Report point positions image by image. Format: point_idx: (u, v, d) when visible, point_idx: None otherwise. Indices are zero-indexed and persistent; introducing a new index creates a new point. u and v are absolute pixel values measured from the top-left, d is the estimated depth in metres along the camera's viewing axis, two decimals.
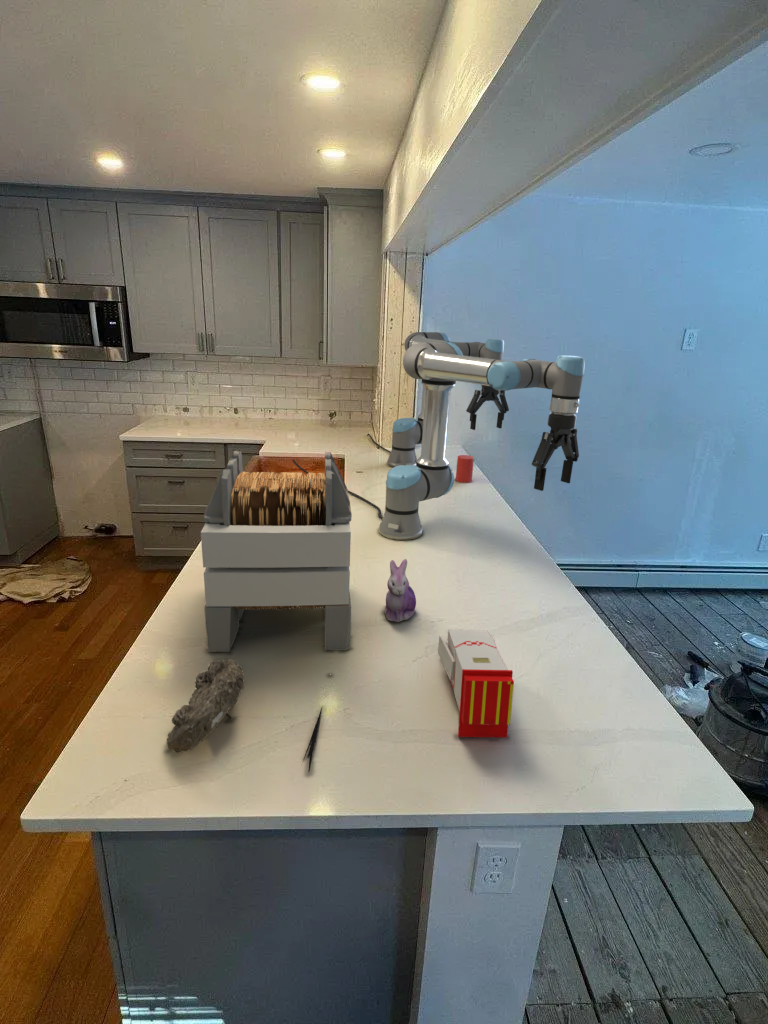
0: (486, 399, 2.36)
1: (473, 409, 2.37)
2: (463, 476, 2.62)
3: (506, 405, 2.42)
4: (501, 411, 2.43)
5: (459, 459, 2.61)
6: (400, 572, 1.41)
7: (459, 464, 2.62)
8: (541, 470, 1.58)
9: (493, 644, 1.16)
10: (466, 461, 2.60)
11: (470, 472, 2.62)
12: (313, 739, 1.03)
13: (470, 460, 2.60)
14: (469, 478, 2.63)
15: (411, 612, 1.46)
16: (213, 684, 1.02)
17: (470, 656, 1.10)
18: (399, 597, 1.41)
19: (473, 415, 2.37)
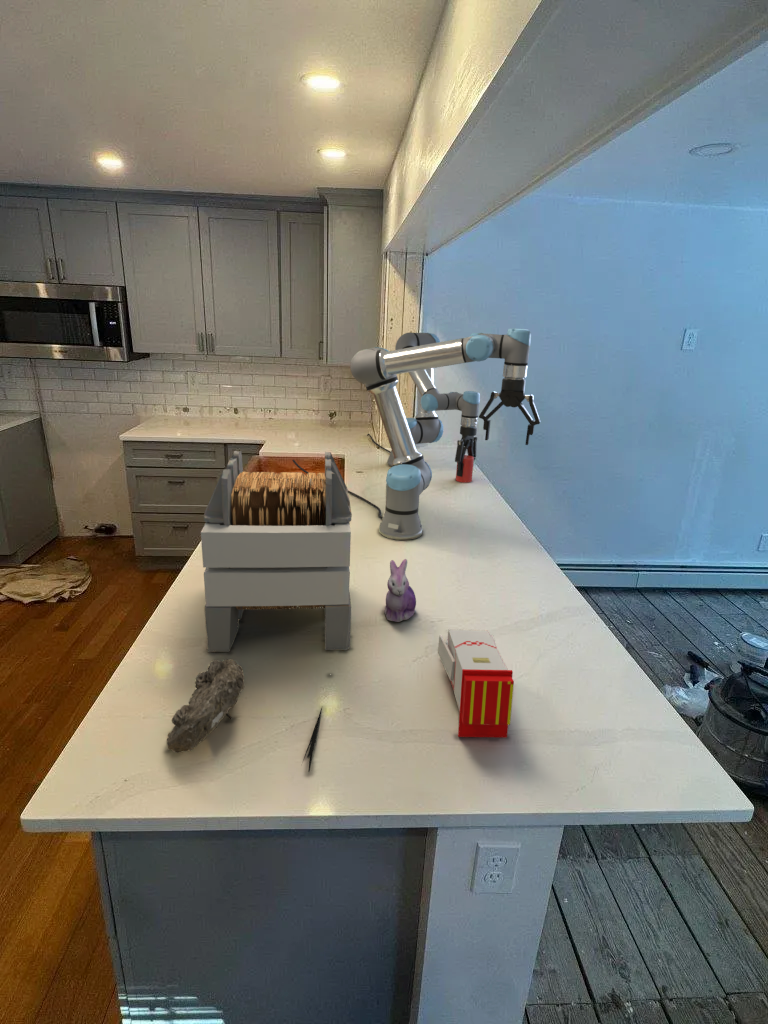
0: (468, 446, 2.59)
1: None
2: (463, 476, 2.62)
3: (475, 451, 2.66)
4: None
5: None
6: (400, 572, 1.41)
7: None
8: None
9: (493, 644, 1.16)
10: (466, 461, 2.60)
11: (470, 472, 2.62)
12: (313, 739, 1.03)
13: (470, 460, 2.60)
14: (469, 478, 2.63)
15: (411, 612, 1.46)
16: (213, 684, 1.02)
17: (470, 656, 1.10)
18: (399, 597, 1.41)
19: (461, 464, 2.60)
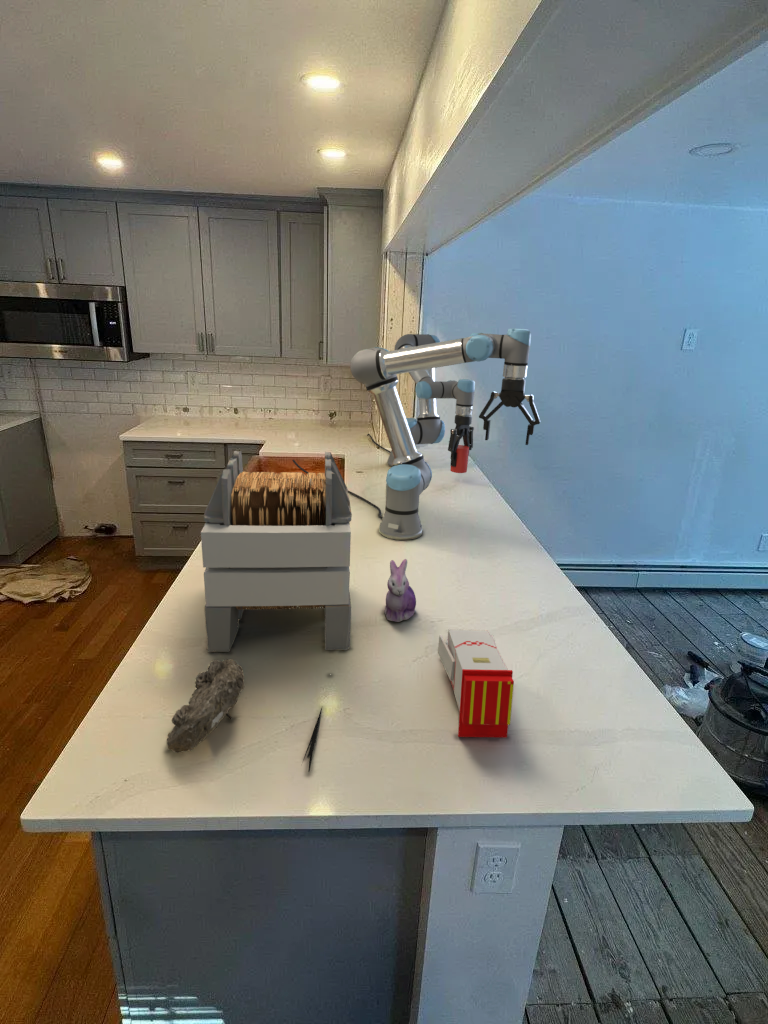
0: (462, 435, 2.53)
1: None
2: (457, 466, 2.57)
3: (472, 442, 2.60)
4: None
5: None
6: (400, 572, 1.41)
7: None
8: None
9: (493, 644, 1.16)
10: (459, 450, 2.54)
11: (464, 462, 2.56)
12: (313, 739, 1.03)
13: (464, 450, 2.54)
14: (463, 468, 2.57)
15: (411, 612, 1.46)
16: (213, 684, 1.02)
17: (470, 656, 1.10)
18: (399, 597, 1.41)
19: (454, 453, 2.54)
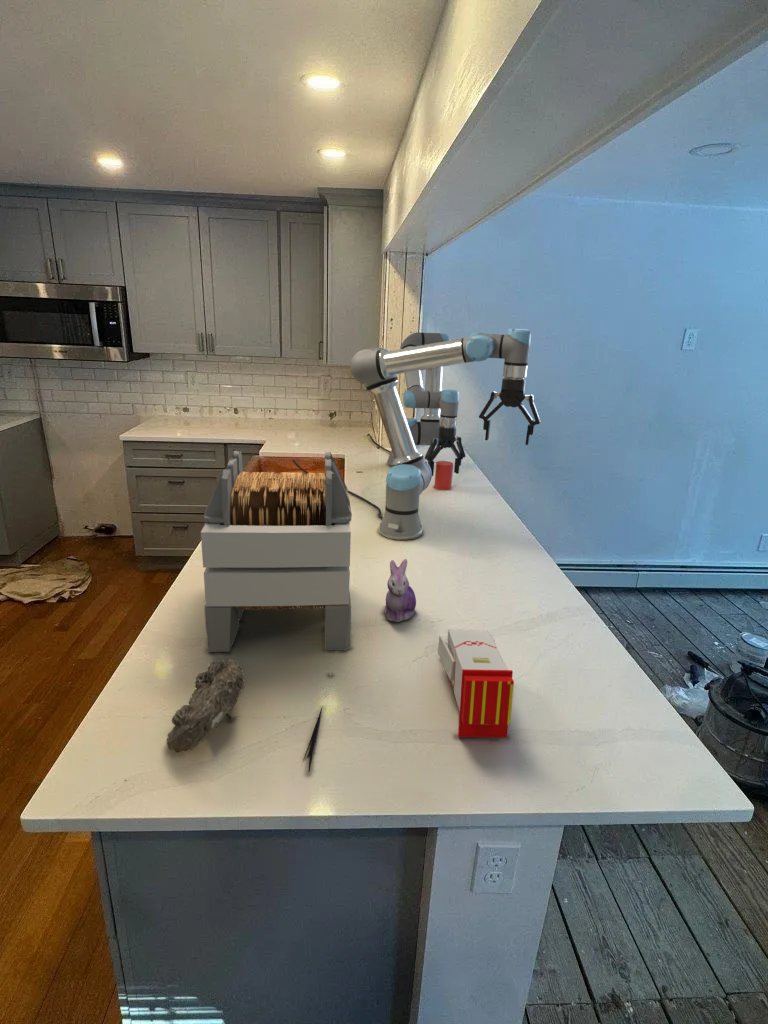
0: (443, 447, 2.46)
1: (431, 456, 2.46)
2: (438, 482, 2.51)
3: (463, 452, 2.52)
4: (458, 457, 2.53)
5: (436, 464, 2.51)
6: (400, 572, 1.41)
7: (436, 469, 2.51)
8: None
9: (493, 644, 1.16)
10: (441, 466, 2.48)
11: (445, 479, 2.49)
12: (313, 739, 1.03)
13: (445, 466, 2.48)
14: (445, 485, 2.51)
15: (411, 612, 1.46)
16: (213, 684, 1.02)
17: (470, 656, 1.10)
18: (399, 597, 1.41)
19: (431, 462, 2.47)
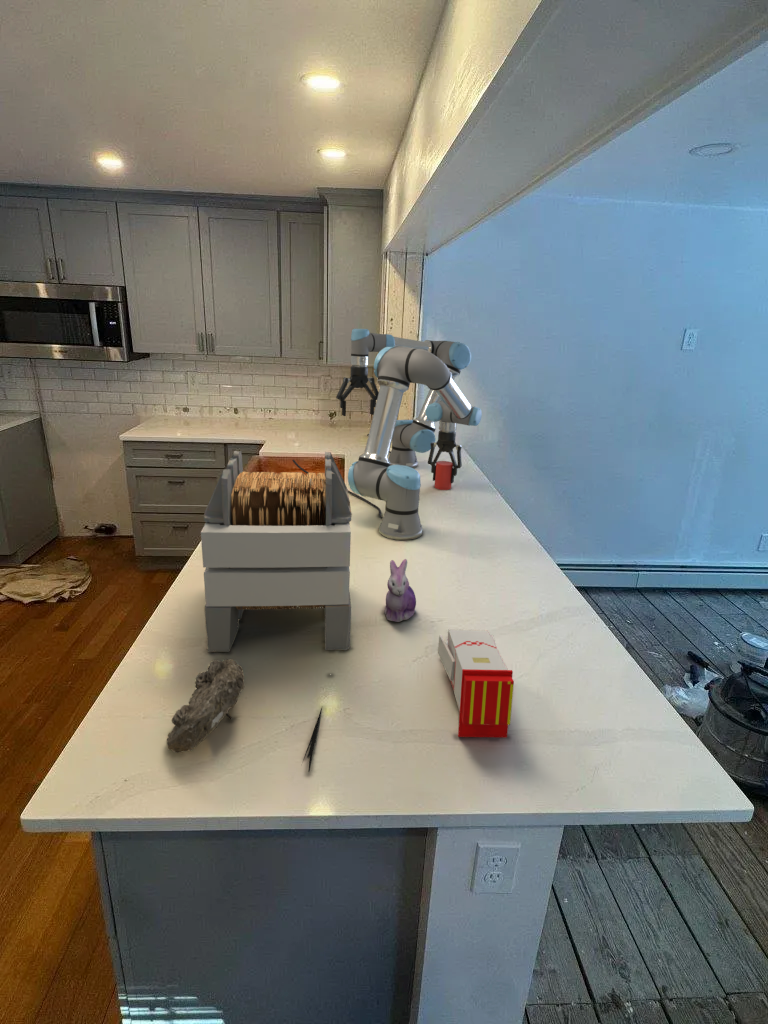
0: (354, 386, 2.46)
1: (342, 396, 2.47)
2: (438, 482, 2.51)
3: (377, 392, 2.52)
4: (373, 398, 2.53)
5: (436, 464, 2.51)
6: (400, 572, 1.41)
7: (436, 469, 2.51)
8: None
9: (493, 644, 1.16)
10: (441, 466, 2.48)
11: (445, 479, 2.49)
12: (313, 739, 1.03)
13: (445, 466, 2.48)
14: (445, 485, 2.51)
15: (411, 612, 1.46)
16: (213, 684, 1.02)
17: (470, 656, 1.10)
18: (399, 597, 1.41)
19: (342, 402, 2.47)
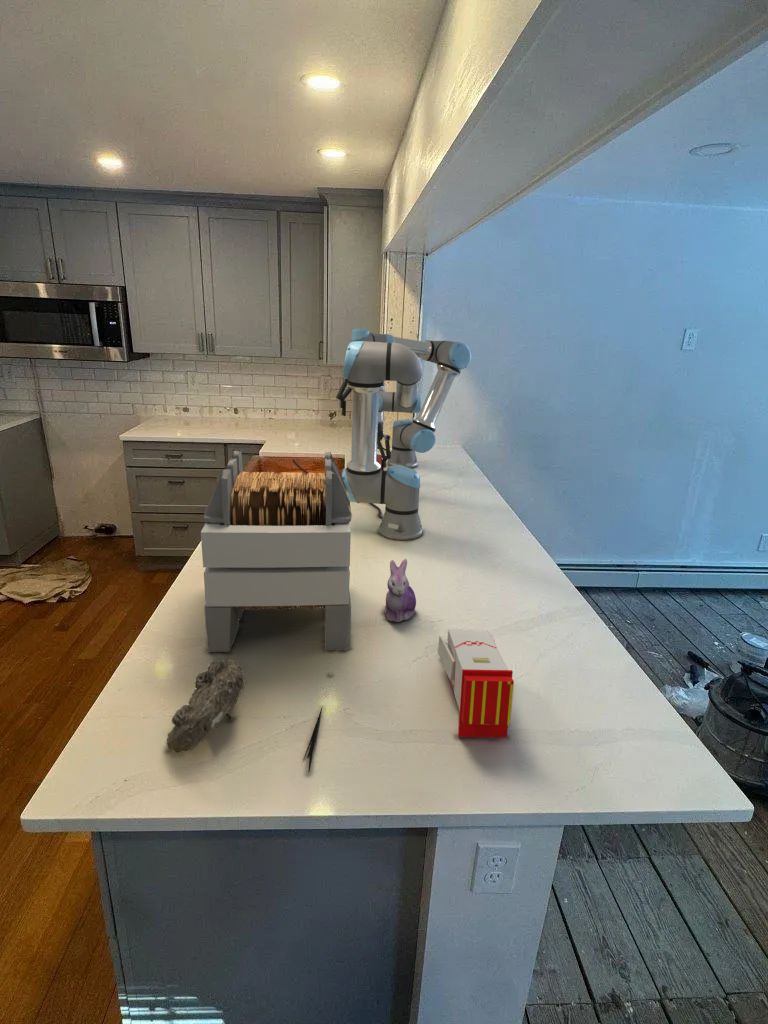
0: None
1: (342, 396, 2.47)
2: None
3: None
4: None
5: None
6: (400, 572, 1.41)
7: None
8: None
9: (493, 644, 1.16)
10: None
11: None
12: (313, 739, 1.03)
13: (378, 459, 2.33)
14: None
15: (411, 612, 1.46)
16: (213, 684, 1.02)
17: (470, 656, 1.10)
18: (399, 597, 1.41)
19: (342, 402, 2.47)
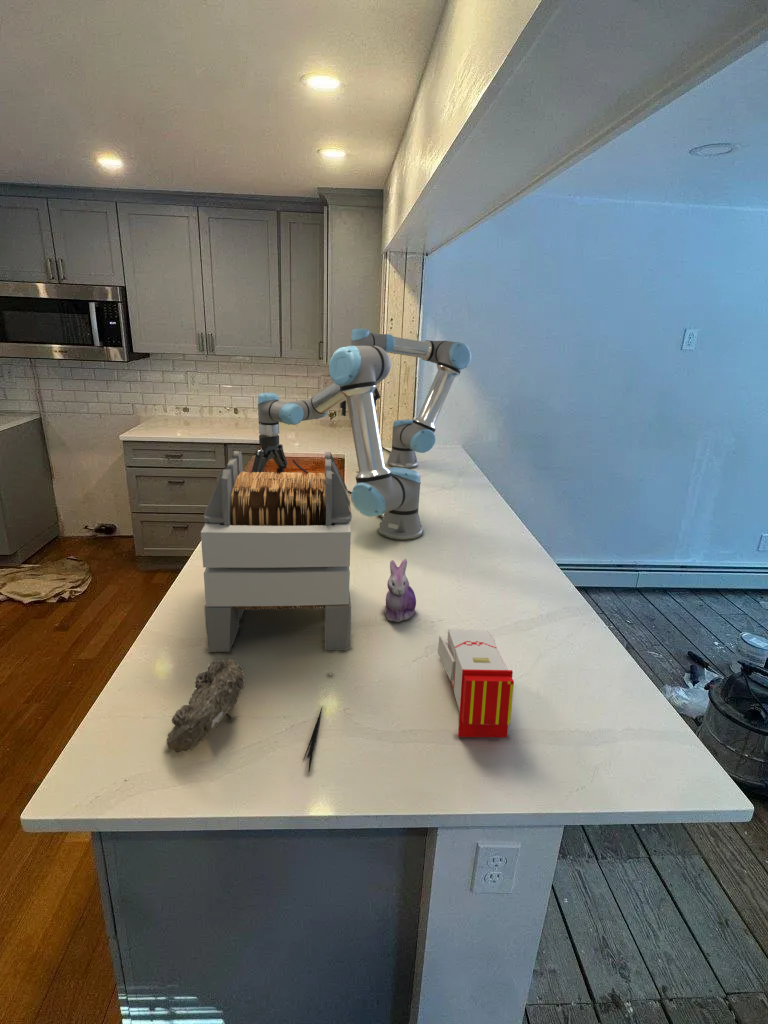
0: None
1: None
2: None
3: (377, 392, 2.52)
4: None
5: None
6: (400, 572, 1.41)
7: None
8: None
9: (493, 644, 1.16)
10: None
11: None
12: (313, 739, 1.03)
13: None
14: None
15: (411, 612, 1.46)
16: (213, 684, 1.02)
17: (470, 656, 1.10)
18: (399, 597, 1.41)
19: (342, 402, 2.47)
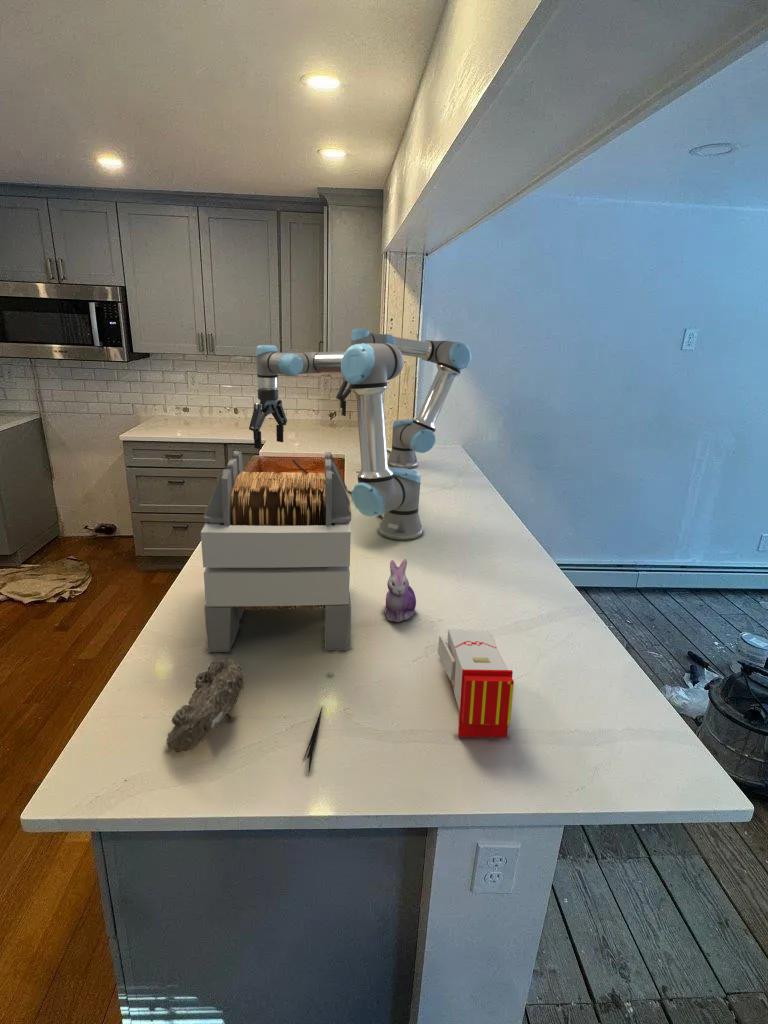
0: None
1: (342, 396, 2.47)
2: None
3: None
4: None
5: None
6: (400, 572, 1.41)
7: None
8: None
9: (493, 644, 1.16)
10: None
11: None
12: (313, 739, 1.03)
13: None
14: None
15: (411, 612, 1.46)
16: (213, 684, 1.02)
17: (470, 656, 1.10)
18: (399, 597, 1.41)
19: (342, 402, 2.47)
